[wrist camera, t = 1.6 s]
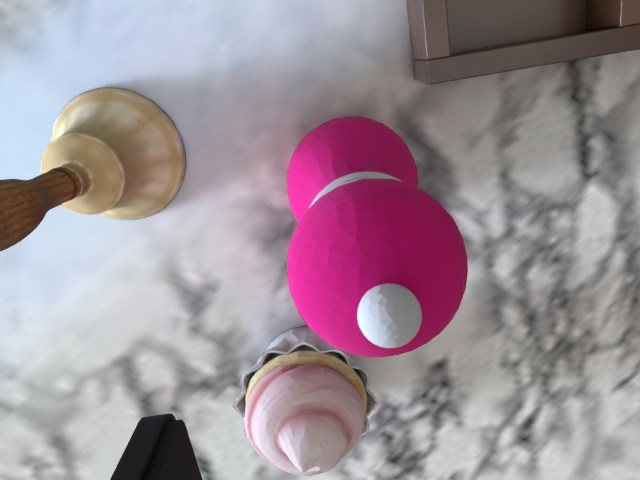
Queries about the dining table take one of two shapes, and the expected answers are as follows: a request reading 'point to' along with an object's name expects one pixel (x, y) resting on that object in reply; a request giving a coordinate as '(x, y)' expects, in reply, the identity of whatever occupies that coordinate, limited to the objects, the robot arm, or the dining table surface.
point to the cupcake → (305, 403)
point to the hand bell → (99, 164)
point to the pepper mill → (369, 242)
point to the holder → (514, 34)
